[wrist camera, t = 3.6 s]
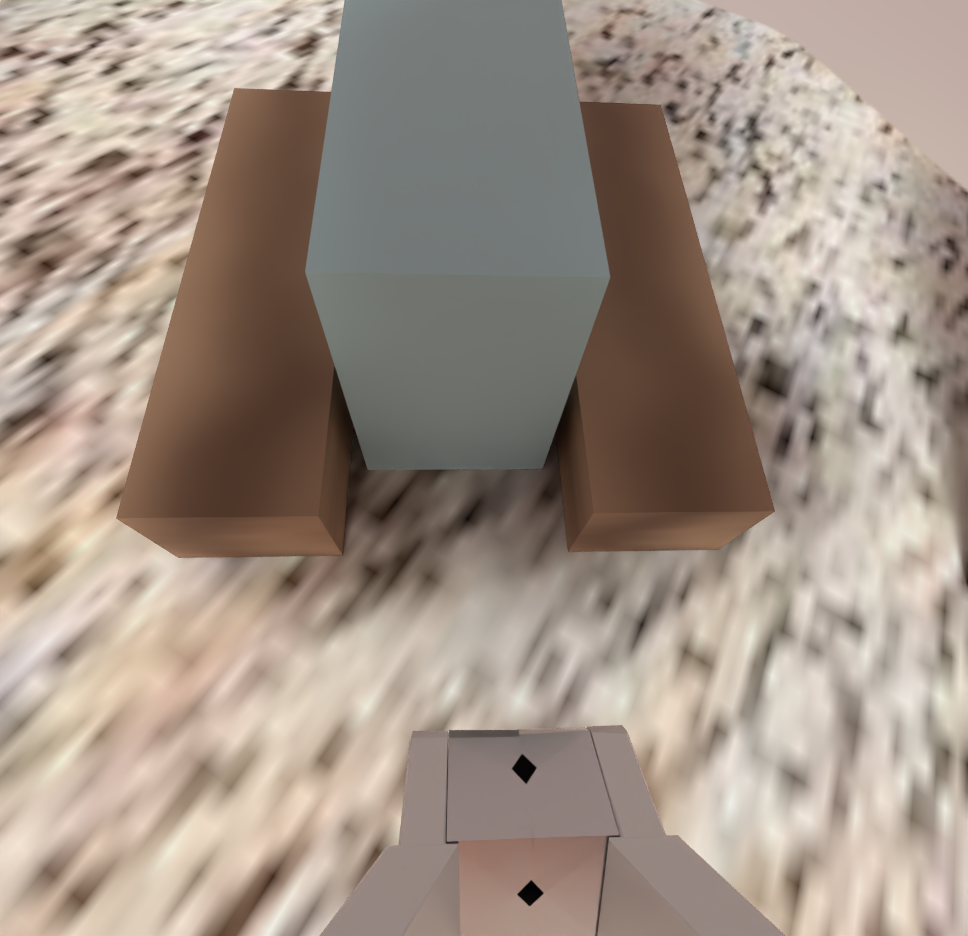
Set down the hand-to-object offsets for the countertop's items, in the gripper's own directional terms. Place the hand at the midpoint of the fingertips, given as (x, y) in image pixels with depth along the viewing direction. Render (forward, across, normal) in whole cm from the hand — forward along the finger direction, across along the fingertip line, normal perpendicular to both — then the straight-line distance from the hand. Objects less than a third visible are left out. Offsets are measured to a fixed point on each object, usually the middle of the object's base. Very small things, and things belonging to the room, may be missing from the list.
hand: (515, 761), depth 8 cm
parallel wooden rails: (+16, +1, -4) cm, 17 cm away
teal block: (+16, +1, -4) cm, 17 cm away
